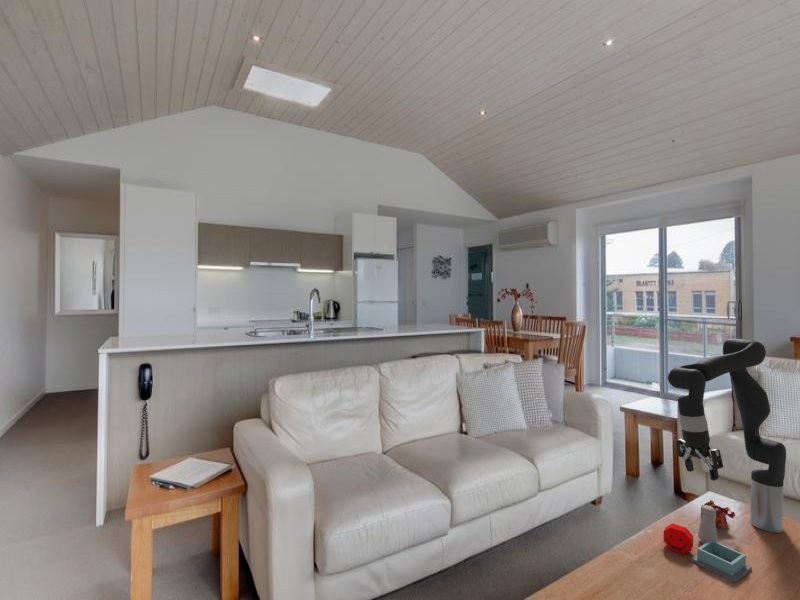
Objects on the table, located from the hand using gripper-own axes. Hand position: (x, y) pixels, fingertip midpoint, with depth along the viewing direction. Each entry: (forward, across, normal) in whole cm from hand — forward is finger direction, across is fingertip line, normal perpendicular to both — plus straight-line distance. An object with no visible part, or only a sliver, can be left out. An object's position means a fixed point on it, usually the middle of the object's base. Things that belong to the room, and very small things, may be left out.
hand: (702, 475), depth 140 cm
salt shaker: (+28, +7, -5) cm, 30 cm away
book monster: (+30, +13, -18) cm, 37 cm away
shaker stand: (+28, -3, +2) cm, 28 cm away
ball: (+26, +7, +8) cm, 29 cm away
